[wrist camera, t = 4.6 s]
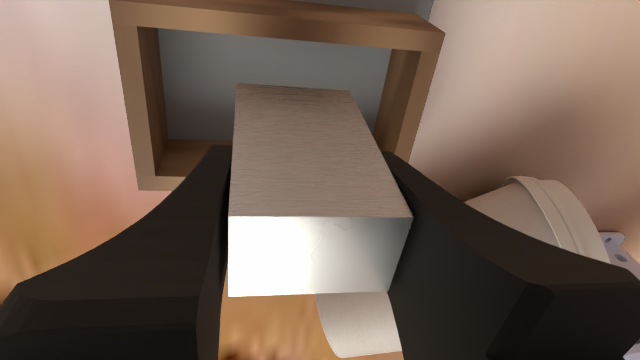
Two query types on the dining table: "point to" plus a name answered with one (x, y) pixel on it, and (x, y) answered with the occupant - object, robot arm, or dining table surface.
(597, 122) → the dining table surface
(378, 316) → the coffee cup
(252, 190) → the brushed aluminum block
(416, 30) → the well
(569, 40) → the dining table surface
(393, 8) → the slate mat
